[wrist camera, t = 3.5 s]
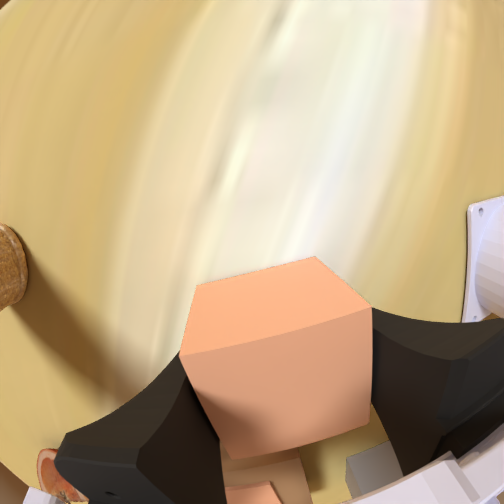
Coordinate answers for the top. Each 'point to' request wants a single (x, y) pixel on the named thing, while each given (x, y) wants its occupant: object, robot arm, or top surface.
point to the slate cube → (372, 469)
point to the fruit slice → (55, 479)
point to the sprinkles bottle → (11, 268)
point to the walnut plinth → (265, 478)
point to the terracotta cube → (280, 357)
